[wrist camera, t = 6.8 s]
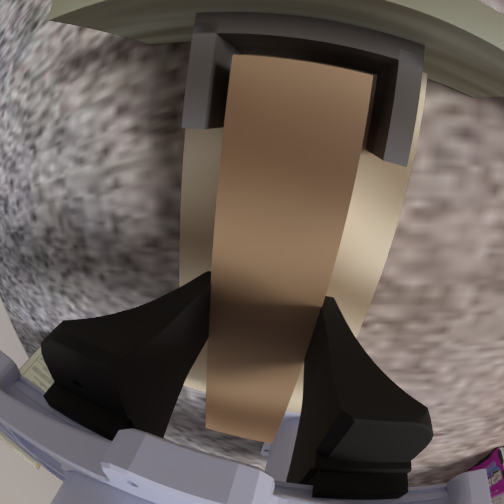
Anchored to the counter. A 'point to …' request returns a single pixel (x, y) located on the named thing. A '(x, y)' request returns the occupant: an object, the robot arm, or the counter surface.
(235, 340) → the rail
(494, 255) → the counter surface
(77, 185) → the counter surface
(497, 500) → the candy bar box
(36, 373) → the skincare box
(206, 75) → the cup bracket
